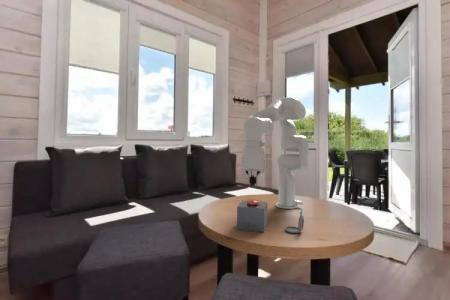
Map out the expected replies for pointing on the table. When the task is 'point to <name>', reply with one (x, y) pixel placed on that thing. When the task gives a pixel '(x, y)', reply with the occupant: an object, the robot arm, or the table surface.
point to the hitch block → (252, 217)
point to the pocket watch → (296, 229)
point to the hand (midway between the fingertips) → (252, 185)
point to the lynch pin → (253, 202)
